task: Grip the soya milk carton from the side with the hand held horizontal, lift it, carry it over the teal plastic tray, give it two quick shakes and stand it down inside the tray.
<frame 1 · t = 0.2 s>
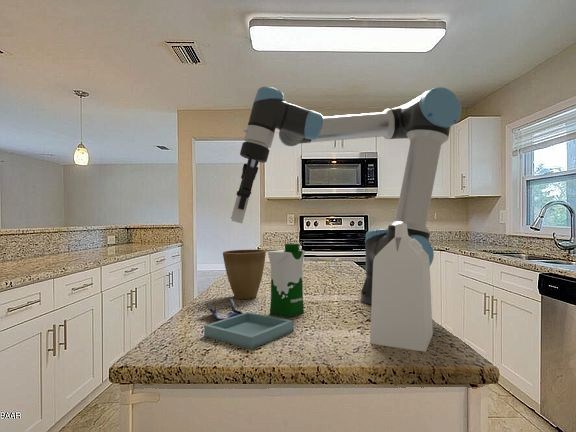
hand: (236, 221, 102), 27 cm above the countertop, tool tilted 15°, fingers open, 13 cm apart
tray: (249, 333, 90), on the countertop
milk: (402, 339, 85), on the countertop
snack package: (225, 320, 104), on the countertop
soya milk: (286, 313, 109), on the countertop
plant pot: (245, 297, 131), on the countertop
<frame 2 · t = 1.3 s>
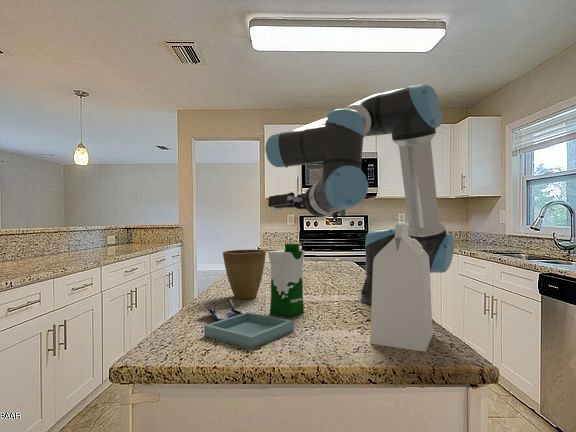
hand: (299, 210, 104), 30 cm above the countertop, tool horizontal, fingers open, 13 cm apart
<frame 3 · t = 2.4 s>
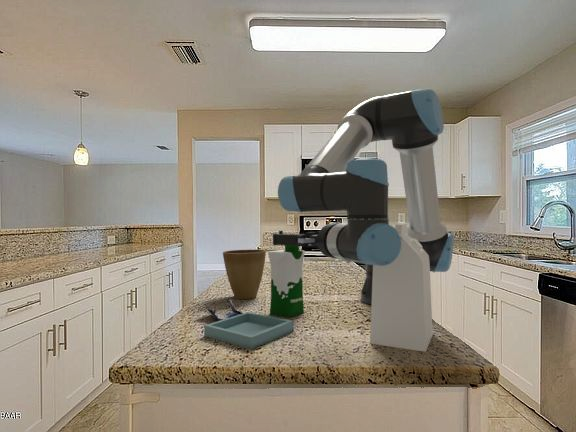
hand: (298, 237, 99), 22 cm above the countertop, tool horizontal, fingers open, 13 cm apart
nothing on the countertop moved.
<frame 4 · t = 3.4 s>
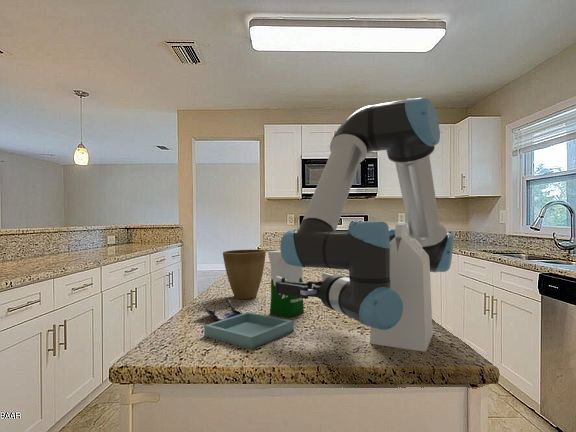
hand: (300, 279, 100), 11 cm above the countertop, tool horizontal, fingers open, 13 cm apart
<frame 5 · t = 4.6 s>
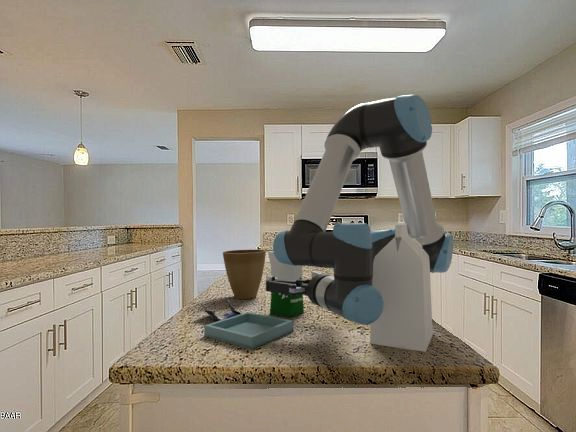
hand: (290, 277, 104), 11 cm above the countertop, tool horizontal, fingers open, 13 cm apart
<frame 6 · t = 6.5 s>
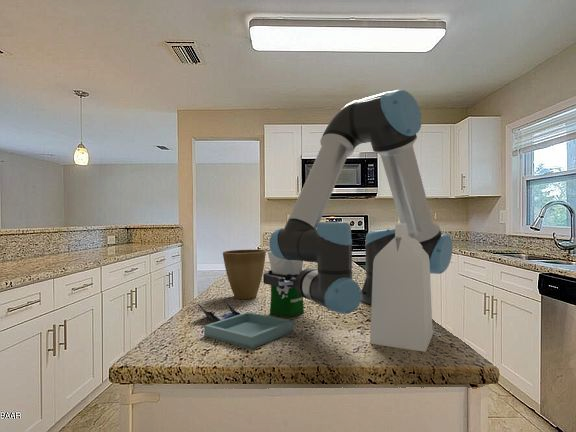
hand: (280, 272, 113), 11 cm above the countertop, tool horizontal, fingers closed on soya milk, 9 cm apart
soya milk: (286, 313, 109), on the countertop, touching gripper
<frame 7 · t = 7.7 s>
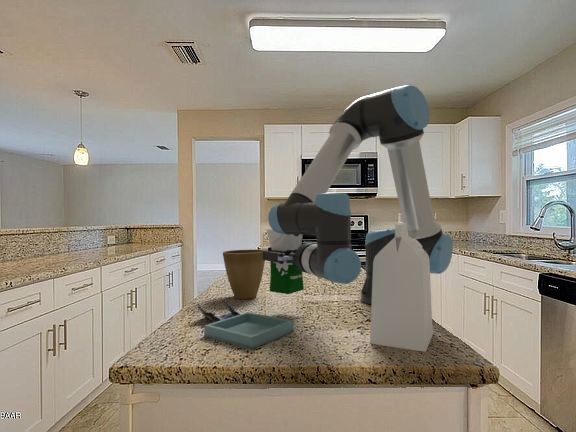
hand: (279, 250, 113), 18 cm above the countertop, tool horizontal, fingers closed on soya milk, 9 cm apart
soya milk: (286, 291, 109), point 6 cm above the countertop, touching gripper
when the fingers open (13 cm above the countertop, at t = 13.5 s): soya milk drops 1 cm, resting on tray.
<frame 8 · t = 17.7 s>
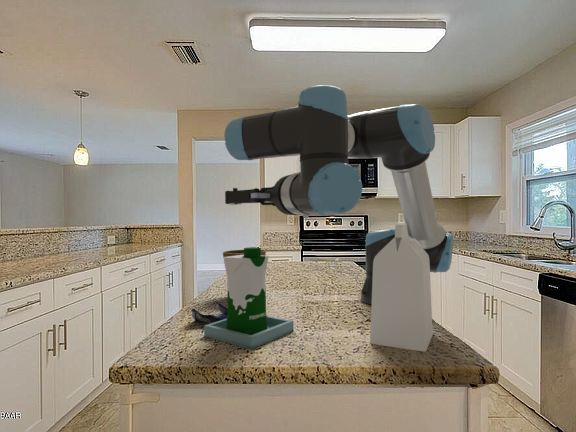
hand: (260, 199, 88), 32 cm above the countertop, tool horizontal, fingers open, 13 cm apart
snack package: (217, 324, 100), on the countertop
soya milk: (246, 332, 90), resting on tray
everything else where it was.
at the end: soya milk inside the target area on the tray (0.7 cm from its centre), point 0.4 cm above the tray's base; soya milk tilted 0°; the gripper is holding nothing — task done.
